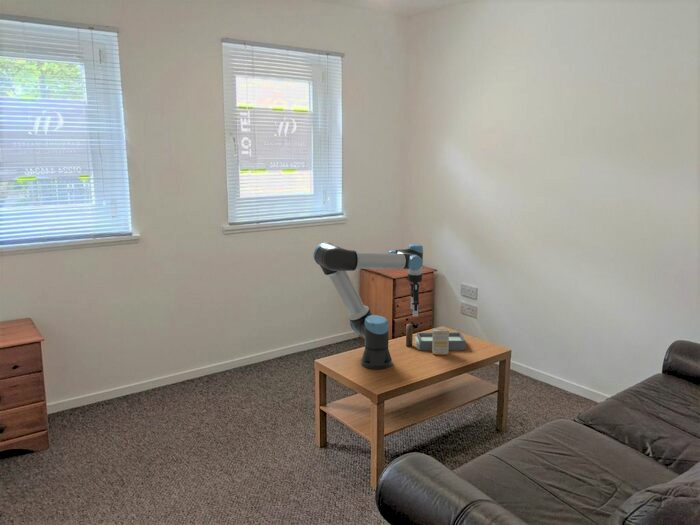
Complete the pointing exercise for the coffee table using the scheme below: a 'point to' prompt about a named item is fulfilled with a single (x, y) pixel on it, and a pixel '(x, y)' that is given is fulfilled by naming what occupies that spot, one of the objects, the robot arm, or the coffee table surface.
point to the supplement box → (440, 341)
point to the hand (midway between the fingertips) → (414, 312)
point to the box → (455, 341)
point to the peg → (409, 335)
